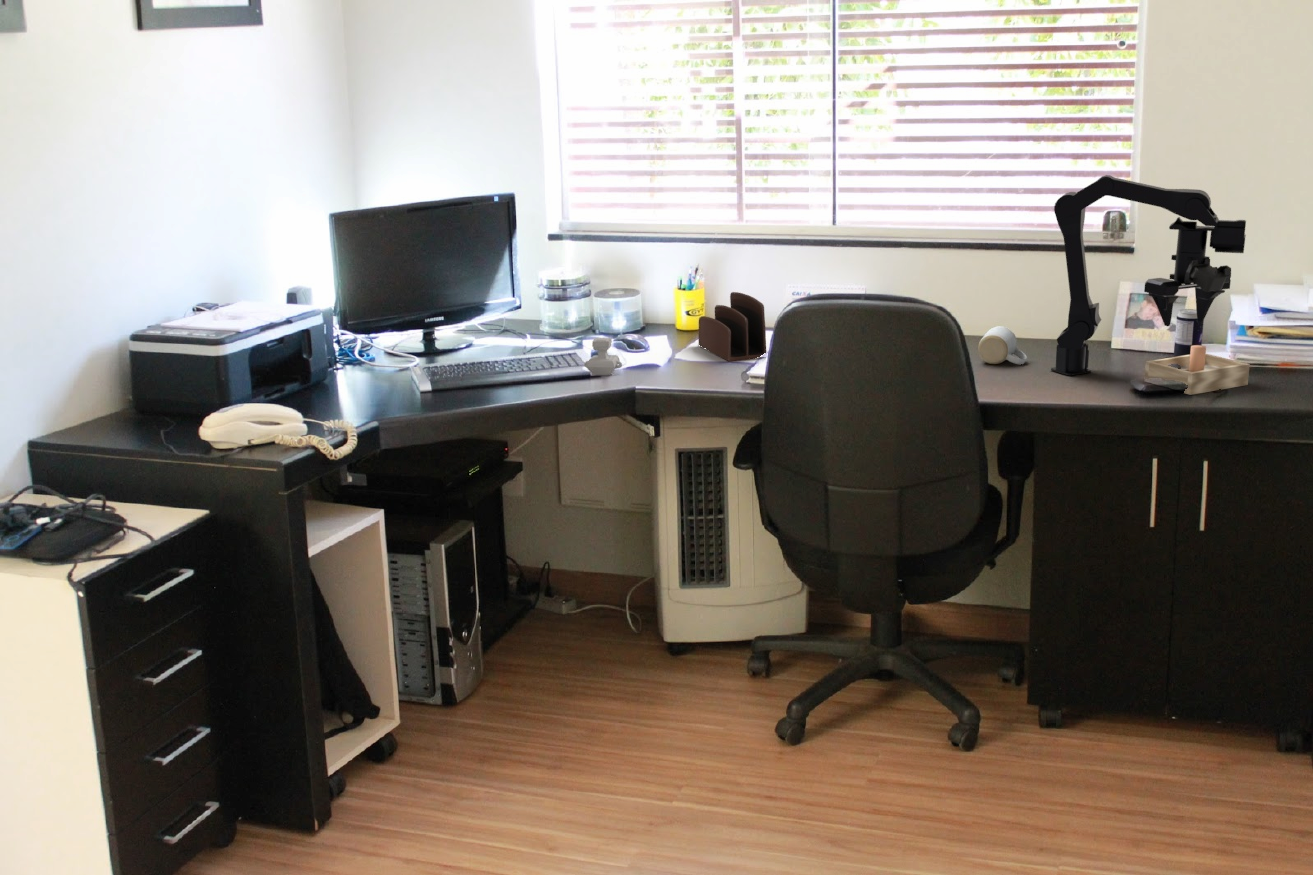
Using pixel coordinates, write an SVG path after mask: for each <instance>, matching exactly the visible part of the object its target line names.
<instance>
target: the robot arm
mask: <svg viewBox="0 0 1313 875" xmlns="http://www.w3.org/2000/svg"><path fill="white" fill-rule="evenodd" d="M1105 196H1109V197H1114V198H1116V199H1117V198H1118V199H1122V200H1127V201H1132V202H1136V203H1140V204H1146V205H1149V206H1155V207H1159V208H1162V209H1164V210H1167V211H1169V212H1171V213H1172V214H1174V215H1176V216H1177V217H1176V219H1175V221H1174V222H1172V223H1170V224H1169V228H1168V229H1169V230H1174V231H1176V230H1177V231H1178V232H1177V241H1176V251H1175V252H1176V254H1171V257H1170V258H1171V260H1172V261H1175V262H1174V263H1175V264H1174V273H1170V274H1169V278H1164V277H1155V278H1148V279H1147V280H1146V281H1145V282H1144V291H1143V292H1144V293H1148V296H1150V297H1151V298H1152V299H1153V301H1154V303H1155V305H1156V308H1157V309H1158V313H1159V315H1160V317H1161V319H1162V322H1163V324H1164V327H1165V326H1166V327H1170V325H1171V321H1172V315H1173V307H1174V304H1175V303H1174V302H1176V301H1177V299H1178V298H1179V296H1178V295H1176V294H1177V293H1178V292H1179V290H1185V289H1193V288H1194V291H1195V295H1194V296H1195V307H1196V311H1197V319H1198V322H1203V320H1204V321H1205V318H1206V317H1207V314H1208V312H1209V310H1210V307H1211V306H1212V304H1213V302H1214V301H1215V299H1216V297H1218V296H1220V295H1222V294H1224V293H1225V292H1226V290H1228V289H1229V290H1230V288H1231V282H1232V281H1231V277H1232V267H1230V266H1229V265H1220V266H1218V267H1217V266H1212V265H1211V259H1210V256H1207V255H1206V251H1207V250H1206V249H1207V241H1208V233H1209V232H1210V239H1209V248H1212V249H1214V252H1215V253H1223V254H1224V253H1226V254H1227V253H1229V254H1244V253H1245V252H1244V251H1245V244H1246V236H1247V234H1246V225H1247V224H1246V223H1247V220H1245V219H1236V220H1231V219H1230V220H1228V219H1227V220H1224V219H1220V218H1219V217H1218V215H1217V214H1216V213H1215V211H1214V210H1213V208H1212V206H1211V205H1212V201H1211V197H1210V194H1208V193H1207V192H1206V191H1205V190H1203V189H1195V188H1194V189H1192V188H1191V189H1189V188H1165V187H1160V186H1156V185H1150V184H1146V183H1141V182H1137V181H1132V180H1128V179H1122V178H1119V177H1115V176H1112V175H1109V174H1105V175H1102V176H1101V177H1099V178H1098V179H1097V180H1096V181H1094V182H1092V183H1091V184H1089V185H1087V186H1086V187H1084V188H1082V189H1081V190H1079V191H1077V192H1076V191H1069V192H1066V193H1065V194H1063V195H1061V197H1059V198H1058V199H1057V200H1056V202H1055V203H1054V206H1053V207H1054V208H1053V210H1054V214H1055V218H1056V221H1057V225H1058V227H1059V230H1060V232H1061V234H1062V235H1061V236H1062V237H1063V244H1064V253H1065V254H1064V255H1065V262H1066V269H1067V279H1068V287H1069V288H1068V289H1069V296H1070V297H1069V298H1070V300H1069V301H1070V303H1069V310H1068V319H1067V327H1065V329H1063V330H1062V331H1061V333H1060V334H1059V335H1058V337H1057V338H1056V341H1057V344H1056V355H1055V356H1056V357H1055V367H1050V371H1051V372H1052V371H1053V372H1055V373H1060V374H1063V375H1066V376H1076V375H1083V374H1089V373H1092V372H1093V371H1092V369H1090V368H1089V361H1090V360H1089V359H1090V357H1089V356H1090V350H1089V344H1088V343H1085V342H1086V341H1088V340H1090V339H1091V338H1092V337H1093V336H1094V335H1095V333H1096V331H1097V330H1098V327H1099V324H1100V322H1101V321H1102V318H1101V317H1100V313H1099V312H1100V311H1099V310H1100V302H1097V303H1093V301H1092V299H1091V296H1090V292H1089V290H1090V289H1089V281H1088V279H1089V278H1088V271H1087V261H1086V250H1085V244H1084V234H1083V233H1084V226H1085V225H1084V224H1085V217H1086V208H1088V207H1089V206H1090V205H1092V204H1094V203H1095V202H1097V201H1098V200H1100V199H1102V198H1104V197H1105ZM1181 218H1184V219H1187V220H1183V219H1181ZM1188 220H1189V221H1188ZM1198 222H1199V223H1201V224H1202V225H1198Z"/></svg>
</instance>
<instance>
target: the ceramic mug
mask: <svg viewBox="0 0 1313 875" xmlns="http://www.w3.org/2000/svg"><path fill="white" fill-rule="evenodd" d="M1017 347H1018V339H1017V336H1016V334H1015V332H1013V331H1012V330H1011V329H1010V328H1009V327H1006V326H1002V325H999V326H994V327H992V328H990V329H989V330H988V331H987V332H986V333H985V334H984V335H983V337H982V338H981V339H980V340H979V343H978V347H977V350H978V355H979V357H980V358H981V360H982V361H983V362H985V363H987V364H990V365H998V364H1001V363H1003V362H1005V361H1008V362H1010V363H1011V364H1012V363H1013V364H1015V365H1021V364H1022V365H1024V364H1025V362H1026V361H1027V360H1028V356H1027V354H1026V353H1024V352H1023V351H1022V350H1021V349H1019V348H1017Z"/></svg>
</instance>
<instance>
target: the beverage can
mask: <svg viewBox="0 0 1313 875" xmlns="http://www.w3.org/2000/svg"><path fill="white" fill-rule="evenodd" d="M1204 321H1205V319H1204V320H1203V322H1198V319H1197V311H1196V309H1195V308H1194V309H1193V308H1186V309H1185V308H1184V309H1179V311H1178V314H1177V315H1176V323H1175V334H1174V335H1175V336H1174V347H1173V348H1174V349H1173V357H1177V356H1183V355H1190V352H1191V346H1193V345H1201V346H1203V344H1202V343H1203V332H1204Z"/></svg>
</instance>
